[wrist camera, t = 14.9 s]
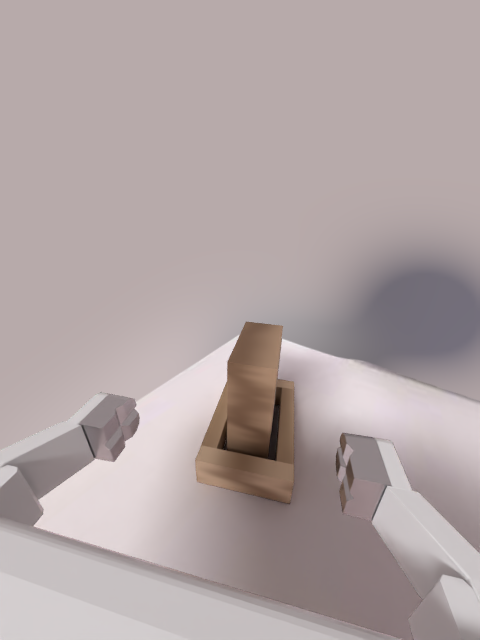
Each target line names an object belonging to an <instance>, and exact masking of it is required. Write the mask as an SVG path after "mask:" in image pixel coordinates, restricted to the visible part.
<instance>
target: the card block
mask: <svg viewBox="0 0 480 640" xmlns="http://www.w3.org/2000/svg"><path fill="white" fill-rule="evenodd" d="M282 328H283V326H279V325H271V324H262V323H253V322H246V323H245V325H244V328H243V330H242V332H241V334H240V336H239V338H238V340H237V343H236V345H235V347H234V349H233V351H232V353H231V356H230V358H229V360H228V366H227V451H231V452H236V453H240V454H245V455H250V456H255V457H259V458H264V459H268V452H269V443H270V435H271V430H272V421H273V412H274V404H275V395H276V386H277V377H278V368H279V360H280V351H281V342H282V338H281V337H282Z"/></svg>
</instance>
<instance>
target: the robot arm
mask: <svg viewBox="0 0 480 640" xmlns="http://www.w3.org/2000/svg"><path fill="white" fill-rule="evenodd" d="M135 407H136V402H135V399H133V398H128V397H123V396H118V395H113V394H107V393H102V392H100V393H98V394H96V395H95V396H94V397H93V398H92V399H91V400H89V401H88V402H87V403H86V404H85V405H84V406H83V407H82V408H81V409H80V410H79V411H77V413H75V414H74V415H73V416H72V417H71V418H70V419H69V420H68V421H67V422H61V423H58V424H56V425H54V426H52V427H50V428H48V429H45V430H43V431H41V432H39V433H37V434H34V435H32V436H30V437H28V438H26V439H24V440H21V441H19V442H17V443H15V444H13V445H10V446H8V447H6V448H4V449H2V450H0V640H404V639H400V638H397V637H394V636H390V635H387V634H384V633H381V632H377V631H374V630H371V629H368V628H364V627H361V626H358V625H354V624H351V623H348V622H345V621H341V620H338V619H335V618H331V617H328V616H325V615H322V614H318V613H315V612H312V611H309V610H305V609H302V608H299V607H295V606H292V605H289V604H286V603H282V602H279V601H276V600H273V599H269V598H266V597H263V596H259V595H256V594H253V593H250V592H246V591H243V590H240V589H236V588H233V587H230V586H227V585H223V584H220V583H217V582H214V581H210V580H207V579H204V578H200V577H197V576H194V575H191V574H187V573H184V572H181V571H178V570H174V569H171V568H168V567H164V566H161V565H158V564H155V563H151V562H148V561H145V560H141V559H138V558H135V557H132V556H128V555H125V554H122V553H119V552H115V551H112V550H109V549H105V548H102V547H99V546H96V545H92V544H89V543H86V542H82V541H79V540H76V539H73V538H69V537H66V536H63V535H59V534H56V533H53V532H50V531H46V530H43V529H40V528H37V527H33V526H34V524H35V523H36V522H37V521H38V520H39V518H40V517H41V516H42V515H43V510H44V509H43V508H42V506H41V504H40V503H39V501H38V500H39V499H40V498H42V497H43V496H44V495H46V494H47V493H49V492H50V491H51V490H53V489H54V488H56V487H57V486H58V485H60V484H61V483H63V482H64V481H65V480H67V479H68V478H70V477H71V476H72V475H74V474H75V473H77V472H78V471H79V470H81V469H82V468H84V467H85V466H86V465H88V464H89V463H91V462H92V461H93V460H94V458H95V459H100V460H105V461H111V462H115V460H116V459H117V457H118V456H119V455H120V453H121V452H122V451H123V449H124V448H125V441H126V440H128V439H130V438H131V437H133V435H134V434H135V432H136V431H137V428H138V425H139V419H140V418H139V413H138V412H137V411H136V410H135V409H134V408H135ZM340 444H341V447H340V448H338V449H337V454H336V472H337V478H338V479H339V481H340V482H341V483H342V484H341V488H340V491H339V492H340V498H341V505H342V511H343V514H346V515H350V516H354V517H358V518H362V519H366V520H369V521H372V522H371V523H372V524H373V526H374V527H375V529H376V530H377V532H378V533H379V535H380V536H381V538H382V540H383V541H384V543H385V544H386V546H387V547H388V549H389V550H390V552H391V553H392V555H393V556H394V558H395V559H396V561H397V563H398V564H399V566H400V567H401V569H402V570H403V572H404V573H405V575H406V576H407V578H408V579H409V581H410V582H411V584H412V586H413V587H414V589H415V590H416V592H417V593H418V595H419V596H420V598H421V599H422V602H421V603H420V604H419V606H418V607H417V608H416V610H415V611H414V612H413V613H412V615H411V616H410V618H409V619H408V621H409V625H410V629H411V632H412V636H413V640H480V553H479V552H478V551H477V550H476V549H475V548H474V547H473V546H472V545H471V544H470V543H469V542H468V541H467V540H466V539H465V538H464V537H463V536H462V535H461V534H460V533H459V532H458V531H457V530H456V529H455V528H454V527H453V526H452V525H451V524H450V523H449V522H448V521H447V520H446V519H445V518H444V517H443V516H442V515H441V514H440V513H439V512H438V511H437V510H436V509H435V508H434V507H433V506H432V505H431V504H430V503H429V502H428V501H427V500H426V499H425V498H424V497H423V496H422V495H421V494H420V493H419V492H416V491H413V490H412V488H411V485H410V483H409V480H408V478H407V476H406V473H405V471H404V468H403V466H402V464H401V461H400V459H399V457H398V454H397V452H396V449H395V447H394V445H393V443H392V442H391V441H390V440H385V439H379V438H373V437H368V436H361V435H355V434H348V433H342V435H341V437H340Z"/></svg>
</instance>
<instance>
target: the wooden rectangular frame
mask: <svg viewBox="0 0 480 640" xmlns="http://www.w3.org/2000/svg"><path fill="white" fill-rule="evenodd" d="M274 405H279V406H280V408H279V421H278V434H277V447H276V460H275V461H274V460H269V459H264V458H259V457H255V456H250V455H245V454H240V453H236V452H231V451H226V450H223V448H224V445H225V442H226V439H227V382H226V385H225V387H224V390H223V392H222V395H221V397H220V400H219V402H218V405H217V407H216V410H215V412H214V415H213V417H212V420H211V422H210V425H209V427H208V430H207V432H206V435H205V437H204V440H203V442H202V445H201V447H200V450H199V452H198V455H197V457H196V460H195V463H196V477H197V482H200V483H204V484H209V485H213V486H217V487H221V488H225V489H229V490H234V491H238V492H242V493H246V494H250V495H255V496H259V497H263V498H267V499H271V500H275V501H280V502H284V503H288V504H290V500H291V495H292V490H293V484H294V382H292V381H286V380H279V379H277V386H276V395H275V404H274Z"/></svg>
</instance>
